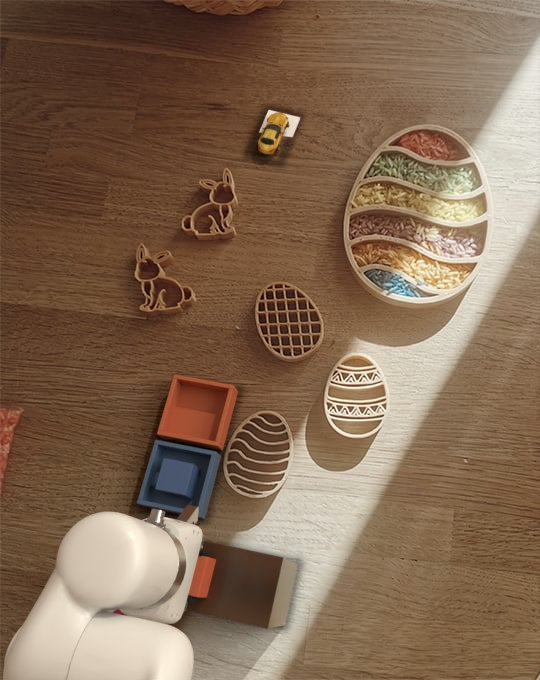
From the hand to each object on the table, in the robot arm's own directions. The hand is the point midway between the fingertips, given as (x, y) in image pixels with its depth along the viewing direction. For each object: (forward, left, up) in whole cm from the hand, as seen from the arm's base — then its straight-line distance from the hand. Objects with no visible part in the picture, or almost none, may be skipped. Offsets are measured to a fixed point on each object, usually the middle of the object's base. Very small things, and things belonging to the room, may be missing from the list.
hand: (191, 574), depth 85 cm
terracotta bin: (+22, +9, -17) cm, 29 cm away
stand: (0, -3, -17) cm, 17 cm away
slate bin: (+12, +9, -17) cm, 23 cm away
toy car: (+72, +10, -17) cm, 75 cm away
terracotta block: (0, 0, -1) cm, 1 cm away
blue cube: (+12, +9, -16) cm, 22 cm away
